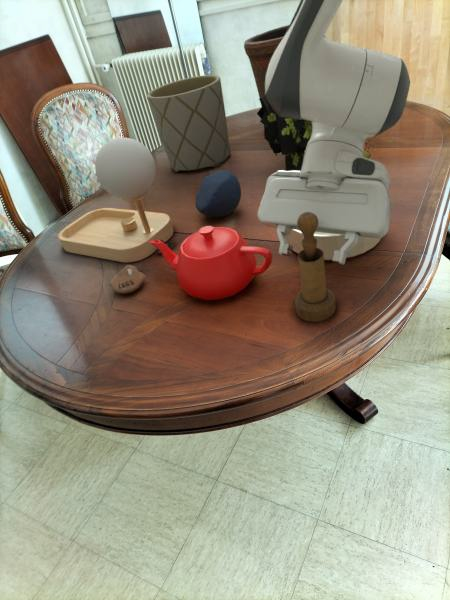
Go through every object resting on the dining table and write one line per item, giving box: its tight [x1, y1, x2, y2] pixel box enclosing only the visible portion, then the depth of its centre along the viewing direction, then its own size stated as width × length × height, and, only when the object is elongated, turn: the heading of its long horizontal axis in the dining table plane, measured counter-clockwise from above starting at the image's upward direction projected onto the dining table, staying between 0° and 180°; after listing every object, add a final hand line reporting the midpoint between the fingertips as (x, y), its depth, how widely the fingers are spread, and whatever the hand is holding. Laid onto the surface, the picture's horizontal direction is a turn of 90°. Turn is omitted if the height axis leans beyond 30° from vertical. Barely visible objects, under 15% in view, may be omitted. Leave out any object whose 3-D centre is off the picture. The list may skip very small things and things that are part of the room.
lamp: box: [57, 137, 175, 263], centre depth 98 cm, size 33×17×25 cm, turn 59°
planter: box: [146, 74, 231, 173], centre depth 133 cm, size 23×23×24 cm
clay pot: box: [243, 24, 326, 107], centre depth 136 cm, size 25×29×30 cm
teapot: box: [149, 225, 273, 301], centre depth 79 cm, size 25×16×12 cm, turn 69°
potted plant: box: [256, 96, 371, 171], centre depth 110 cm, size 21×22×30 cm
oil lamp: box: [108, 264, 147, 294], centre depth 87 cm, size 9×4×8 cm
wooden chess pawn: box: [294, 212, 337, 323], centre depth 65 cm, size 7×6×18 cm
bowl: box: [286, 229, 382, 261], centre depth 85 cm, size 19×19×6 cm
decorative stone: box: [195, 169, 242, 218], centre depth 103 cm, size 12×12×10 cm
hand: (310, 259), depth 64 cm, fingers open, 7 cm apart
